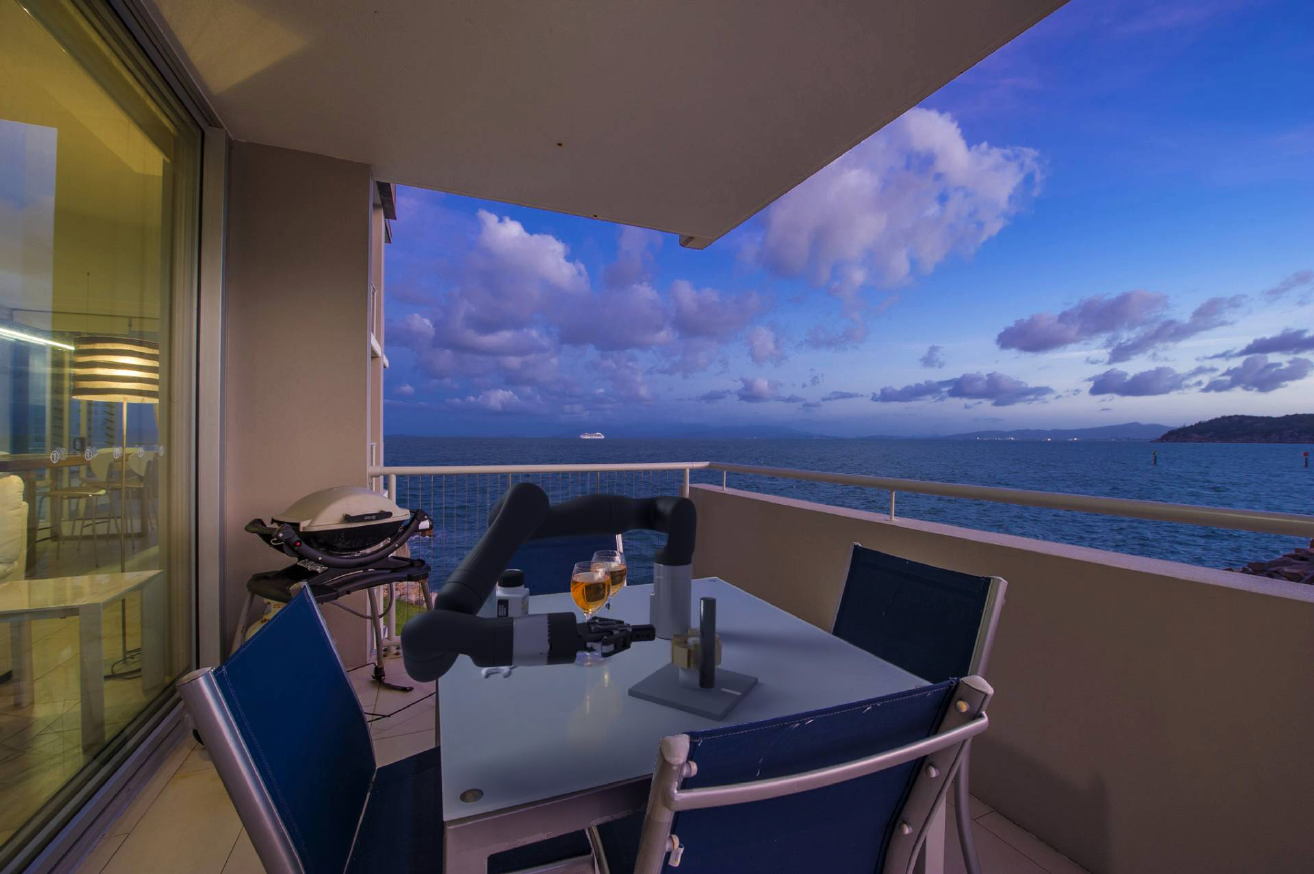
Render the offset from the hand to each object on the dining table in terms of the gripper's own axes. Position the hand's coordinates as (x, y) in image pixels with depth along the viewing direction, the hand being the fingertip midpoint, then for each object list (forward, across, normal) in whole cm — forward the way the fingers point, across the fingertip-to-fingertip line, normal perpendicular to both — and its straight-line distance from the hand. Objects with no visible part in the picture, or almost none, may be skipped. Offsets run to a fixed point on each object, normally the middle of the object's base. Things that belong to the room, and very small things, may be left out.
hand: (654, 632), depth 89 cm
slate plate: (+11, -13, -15) cm, 23 cm away
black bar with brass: (+10, -8, -10) cm, 16 cm away
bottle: (-29, -53, -15) cm, 62 cm away
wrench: (-18, -35, -16) cm, 43 cm away
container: (-23, -61, -15) cm, 67 cm away
